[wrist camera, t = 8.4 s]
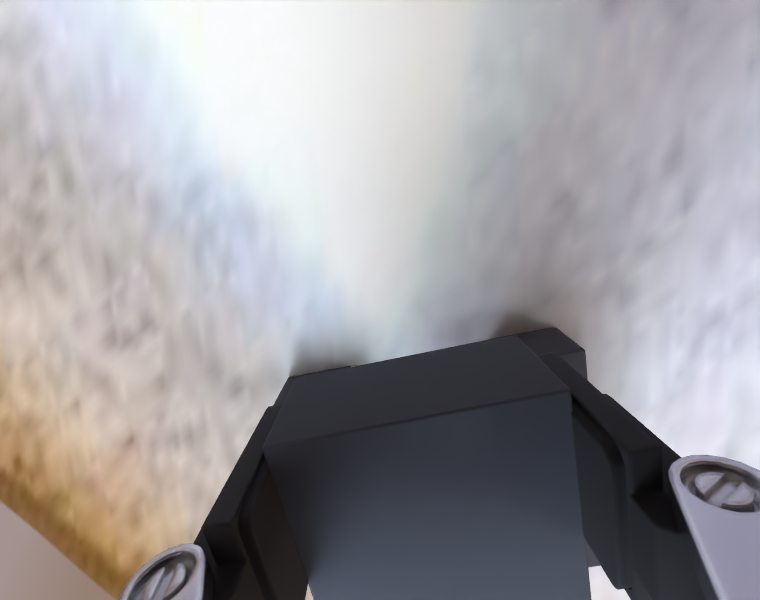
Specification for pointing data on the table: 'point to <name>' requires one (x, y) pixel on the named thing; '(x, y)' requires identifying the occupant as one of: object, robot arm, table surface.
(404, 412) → the pad
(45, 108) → the table surface
